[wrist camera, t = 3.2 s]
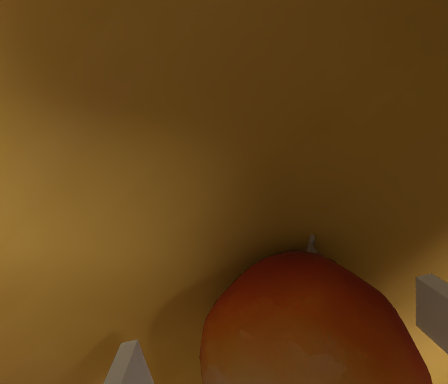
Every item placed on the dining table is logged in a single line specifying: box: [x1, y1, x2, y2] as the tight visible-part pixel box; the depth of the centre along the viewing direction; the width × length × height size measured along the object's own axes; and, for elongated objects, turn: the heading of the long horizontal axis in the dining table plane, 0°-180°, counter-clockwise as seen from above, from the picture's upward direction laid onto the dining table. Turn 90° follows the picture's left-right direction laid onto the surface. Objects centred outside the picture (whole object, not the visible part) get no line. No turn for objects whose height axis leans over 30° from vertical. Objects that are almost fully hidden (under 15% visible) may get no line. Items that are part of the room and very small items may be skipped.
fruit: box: [200, 234, 432, 384], centre depth 10 cm, size 8×8×8 cm
